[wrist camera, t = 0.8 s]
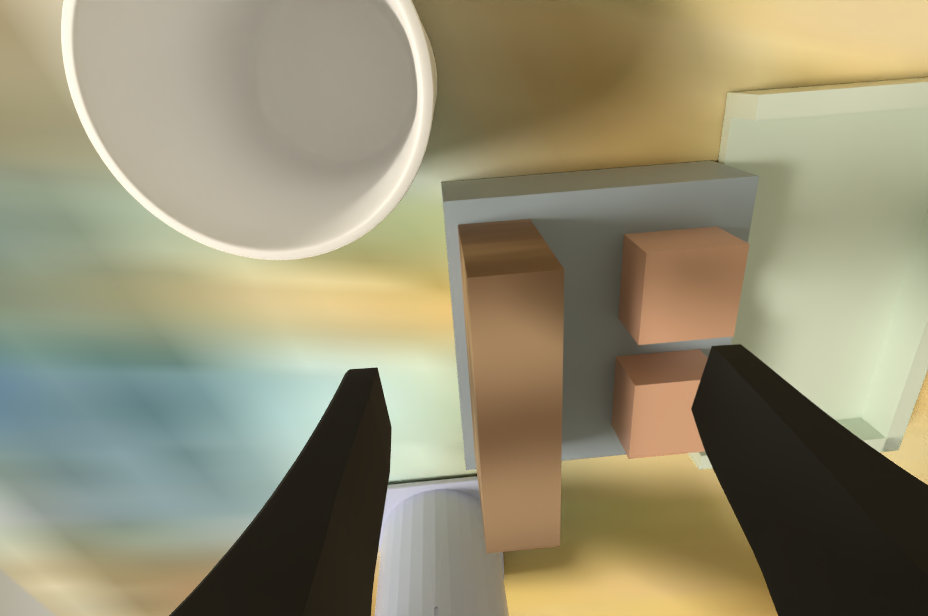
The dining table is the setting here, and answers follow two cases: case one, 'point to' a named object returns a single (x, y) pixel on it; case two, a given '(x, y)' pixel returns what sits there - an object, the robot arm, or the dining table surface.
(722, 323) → the tile
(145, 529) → the dining table surface
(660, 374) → the tile
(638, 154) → the dining table surface
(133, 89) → the mug
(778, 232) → the tray
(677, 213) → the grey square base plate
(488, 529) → the long brown wooden post
